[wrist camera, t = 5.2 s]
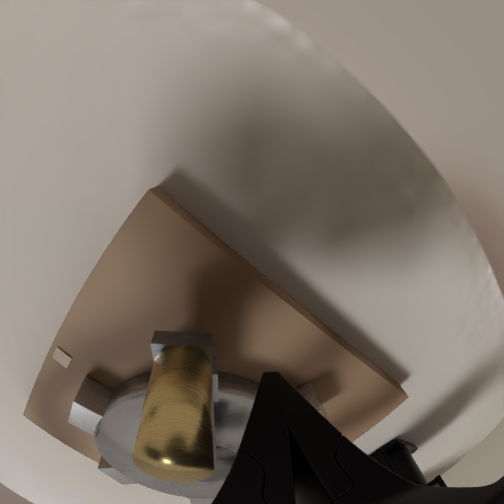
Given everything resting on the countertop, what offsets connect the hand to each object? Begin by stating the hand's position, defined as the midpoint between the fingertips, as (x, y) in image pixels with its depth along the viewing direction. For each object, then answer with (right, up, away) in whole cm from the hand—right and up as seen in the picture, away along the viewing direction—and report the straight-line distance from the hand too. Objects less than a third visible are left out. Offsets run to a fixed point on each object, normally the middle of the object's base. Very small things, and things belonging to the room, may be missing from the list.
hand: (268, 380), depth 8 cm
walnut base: (-4, -7, +7) cm, 10 cm away
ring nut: (-4, -6, +5) cm, 9 cm away
